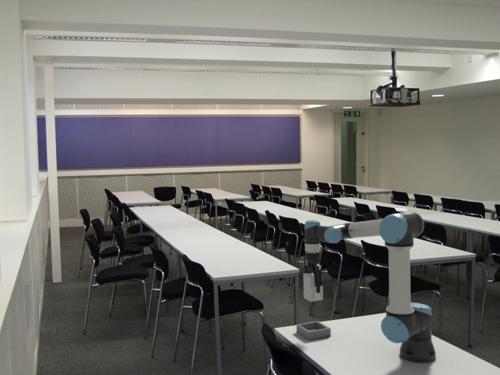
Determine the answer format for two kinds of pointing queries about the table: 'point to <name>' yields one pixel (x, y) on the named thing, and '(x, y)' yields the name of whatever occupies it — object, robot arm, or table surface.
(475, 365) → the table surface
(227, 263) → the table surface
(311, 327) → the box
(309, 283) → the supplement box
